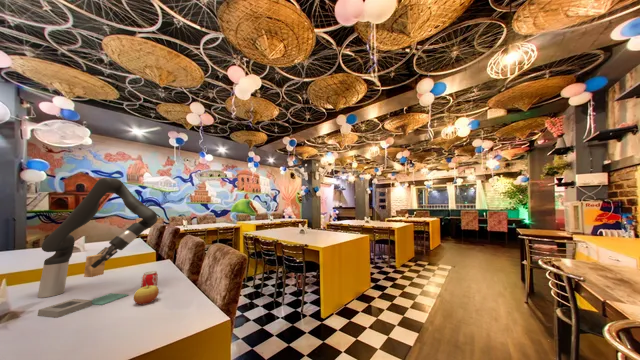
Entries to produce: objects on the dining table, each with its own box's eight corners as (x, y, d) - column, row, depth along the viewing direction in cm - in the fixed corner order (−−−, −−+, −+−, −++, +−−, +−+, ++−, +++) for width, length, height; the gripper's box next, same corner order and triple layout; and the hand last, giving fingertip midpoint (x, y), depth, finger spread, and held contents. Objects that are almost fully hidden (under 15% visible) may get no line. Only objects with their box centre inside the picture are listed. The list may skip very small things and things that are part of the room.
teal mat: (83, 303, 105) (83, 302, 105) (110, 294, 117) (110, 293, 117) (102, 305, 103) (102, 303, 103) (128, 295, 115) (128, 294, 115)
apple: (152, 305, 102) (153, 288, 104) (128, 308, 100) (130, 290, 101) (161, 297, 112) (162, 281, 113) (139, 299, 109) (141, 283, 110)
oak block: (83, 276, 105) (86, 256, 106) (96, 273, 110) (98, 254, 111) (91, 277, 104) (94, 256, 105) (103, 274, 109) (105, 254, 110)
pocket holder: (37, 315, 94) (38, 309, 94) (73, 304, 105) (73, 298, 106) (57, 317, 91) (58, 311, 92) (91, 305, 103) (92, 300, 104)
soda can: (149, 297, 111) (151, 274, 113) (136, 298, 112) (138, 274, 113) (159, 292, 118) (161, 270, 120) (147, 292, 118) (149, 270, 120)
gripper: (113, 235, 120) (79, 260, 108) (122, 235, 112) (87, 263, 101) (124, 243, 123) (93, 268, 112) (133, 244, 116) (101, 272, 104)
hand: (90, 266), depth 106 cm, fingers closed on oak block, 6 cm apart
